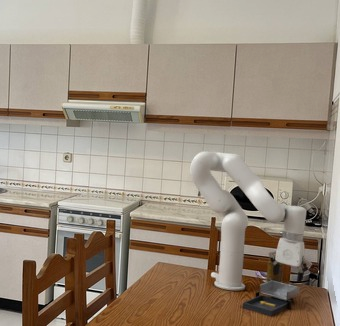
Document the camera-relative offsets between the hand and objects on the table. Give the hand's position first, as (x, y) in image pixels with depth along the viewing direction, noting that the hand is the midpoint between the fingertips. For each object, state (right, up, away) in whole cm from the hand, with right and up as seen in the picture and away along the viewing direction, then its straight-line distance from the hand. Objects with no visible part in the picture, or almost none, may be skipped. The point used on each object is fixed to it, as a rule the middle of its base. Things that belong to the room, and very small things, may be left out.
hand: (287, 278), depth 200 cm
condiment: (+2, -7, +18) cm, 20 cm away
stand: (-6, -8, -7) cm, 12 cm away
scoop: (-4, -5, -5) cm, 8 cm away
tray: (-14, -8, -15) cm, 22 cm away
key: (-12, -7, -13) cm, 19 cm away
